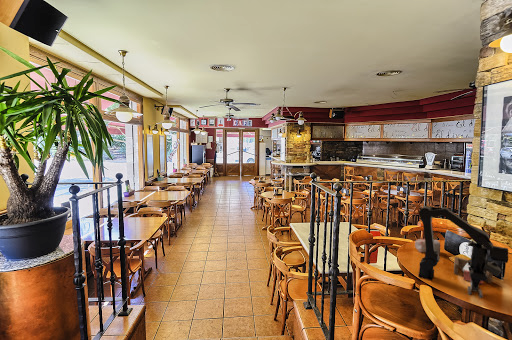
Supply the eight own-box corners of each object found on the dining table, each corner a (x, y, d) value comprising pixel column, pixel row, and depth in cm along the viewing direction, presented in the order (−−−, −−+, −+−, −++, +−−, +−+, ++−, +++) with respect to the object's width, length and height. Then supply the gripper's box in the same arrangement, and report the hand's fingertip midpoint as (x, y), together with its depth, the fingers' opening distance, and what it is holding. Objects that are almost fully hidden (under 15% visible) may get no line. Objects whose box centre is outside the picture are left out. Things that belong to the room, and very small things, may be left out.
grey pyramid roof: (458, 276, 148) (467, 268, 141) (462, 264, 153) (471, 256, 146) (475, 286, 144) (485, 278, 137) (479, 273, 149) (489, 265, 142)
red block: (464, 289, 134) (466, 274, 133) (463, 278, 145) (465, 264, 144) (485, 295, 129) (487, 280, 128) (482, 283, 140) (484, 269, 139)
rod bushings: (468, 294, 130) (468, 291, 130) (467, 288, 135) (468, 286, 134) (482, 298, 127) (482, 295, 127) (480, 292, 132) (481, 289, 131)
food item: (419, 253, 176) (421, 239, 174) (413, 248, 183) (414, 235, 182) (441, 254, 174) (442, 240, 173) (434, 249, 182) (435, 236, 181)
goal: (454, 274, 149) (455, 264, 149) (453, 266, 159) (455, 256, 158) (491, 283, 140) (492, 273, 139) (488, 274, 149) (490, 264, 148)
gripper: (504, 268, 118) (499, 300, 120) (497, 254, 133) (493, 282, 135) (472, 261, 125) (468, 291, 126) (469, 248, 139) (466, 275, 141)
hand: (475, 285), depth 132 cm, fingers open, 4 cm apart
